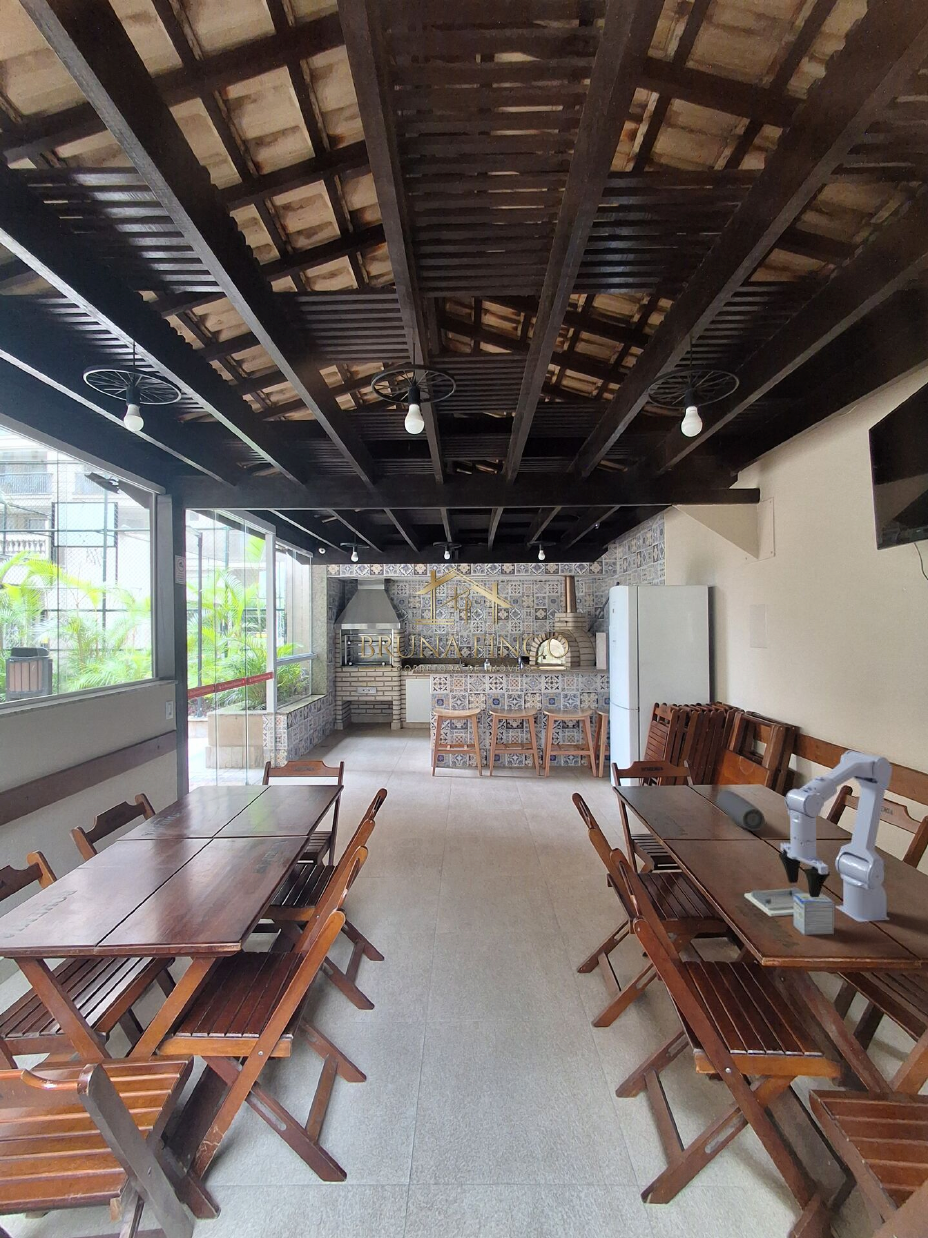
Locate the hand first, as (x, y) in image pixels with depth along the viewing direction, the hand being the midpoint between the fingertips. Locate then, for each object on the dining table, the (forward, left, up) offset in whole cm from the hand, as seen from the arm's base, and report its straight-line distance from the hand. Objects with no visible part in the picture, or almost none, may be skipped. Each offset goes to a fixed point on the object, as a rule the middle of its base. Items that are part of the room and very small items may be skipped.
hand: (803, 889), depth 144 cm
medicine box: (-2, +1, -10) cm, 11 cm away
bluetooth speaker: (-30, -71, -10) cm, 78 cm away
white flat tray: (-3, -12, -10) cm, 16 cm away
